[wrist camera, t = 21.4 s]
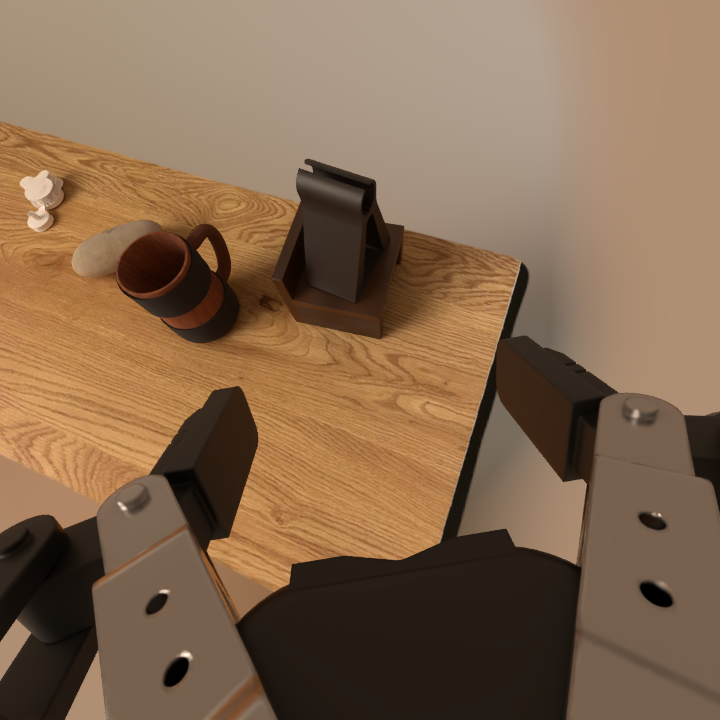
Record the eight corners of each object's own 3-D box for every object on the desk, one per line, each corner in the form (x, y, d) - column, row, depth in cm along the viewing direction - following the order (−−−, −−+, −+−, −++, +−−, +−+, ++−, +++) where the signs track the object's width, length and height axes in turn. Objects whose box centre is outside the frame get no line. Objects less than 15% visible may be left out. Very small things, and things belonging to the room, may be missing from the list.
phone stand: (344, 223, 41) (327, 125, 29) (391, 240, 40) (392, 145, 28) (307, 285, 38) (273, 205, 27) (355, 305, 37) (340, 230, 26)
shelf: (402, 257, 46) (405, 199, 36) (380, 339, 42) (378, 299, 33) (323, 243, 47) (306, 184, 38) (296, 321, 44) (270, 278, 34)
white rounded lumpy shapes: (11, 203, 54) (-4, 193, 52) (57, 170, 56) (45, 158, 54) (39, 235, 52) (25, 225, 50) (87, 200, 53) (75, 189, 51)
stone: (64, 254, 47) (122, 189, 45) (113, 280, 52) (167, 223, 50) (62, 276, 43) (124, 206, 42) (115, 302, 48) (172, 241, 47)
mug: (270, 283, 46) (232, 221, 35) (213, 357, 43) (153, 316, 32) (220, 256, 48) (170, 190, 37) (163, 326, 45) (91, 277, 34)
